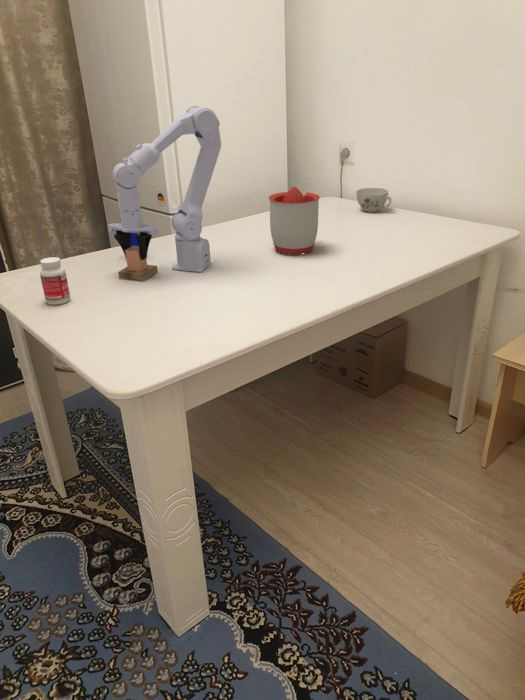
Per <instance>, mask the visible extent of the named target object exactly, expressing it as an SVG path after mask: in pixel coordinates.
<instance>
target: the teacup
mask: <svg viewBox="0 0 525 700" xmlns="http://www.w3.org/2000/svg"><path fill="white" fill-rule="evenodd" d="M355 194H356V200H357V203H358V205H359V206H360V208H361V209H362V210H364V211H363V212H365V211H367V212H366V213H368V212H369V213H370V212H374V213H377V211H378V212H379V210H381V209H383V208H387V207H389V206H391V204H392V198H391V197H392V196H391V197H390V196H389V190H388V189H385V188H381V187H366V188H360V189H358V190H356V192H355ZM387 200H388V201H389V203H388V204H386V202H387ZM385 204H386V205H385Z"/></svg>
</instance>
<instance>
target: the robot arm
mask: <svg viewBox="0 0 525 700" xmlns="http://www.w3.org/2000/svg"><path fill="white" fill-rule="evenodd" d="M220 124H221V122H220V120H219V118H218V117H217V114H216V113H215V111H213V110H212V109H211V108H209V107H200V106H197V105H194V106H190V107H188V108H187V109H186V111H184V112H182V113H180V114H179V115H178V116H177V117H176V118H175V119H174V120H173V122H171V123H170V124H169V125H168V126H167V127H166V128H165V129H164V130H163V131H162V132H161V133H159V135H158V136H156V138H155V139H154V140H152V142H151V143H148V142H144V143H142V144H141V143H139V144H137V145H136V146H135V148H136V150H134V152H132V153H131V154H129V156H128V157H124V158H123V159H122V161H123V162H119V163H118V164H116V165H115V166H114V168H113V170H112V174H111V177H112V179H113V181H114V182H115V184H116V185H115V186H116V187H115V188H116V191H117V192H116V195H117V203H118V211H119V220H120V219H121V221H120V223H119V222H117V223H114V222H113V223H109V224H107V228H108V229H107V230H108V232H110V233H112V232H115V234H114V235H113V238H114V239H115V240H116V241H117V243H118V244H119V247H120V248H121V250H122V252H123V254H124V256H125V258H126V253H125V250H126V249H128V248H130V247H131V242H130V240H131V233H139V234H140V235H138V236H136V237H135V238H136V240H137V243H138V246H139V250H140V257H141V260H144V259H146V260H147V258H148V250H149V246H150V242H151V240H152V237H153V236H156V235H158V234H159V233H158V226H155V225H149V224H144V223H143V218H142V210H141V201H140V193H139V188H138V185H139V183H140V179H141V178H140V177H142V176H144V175H145V174H146V173H147V172H148V171H149V170H150V169H152V168H153V167H154V166H155V165H156V164H157V163H158V162H159V161H160V157H161V156H160V154H161V153H162V152H163V151H165V150H166V149H167V148H168V147H169V146H170V145H172V144H173V143H175V142H176V141H177V140H179V138H181V137H182V136H184V135H194V136H195V138H196V140H197V141H198V143H199V146H200V148H199V152H198V155H197V157H196V161H195V164H194V168H193V172H192V174H191V178H190V181H189V183H188V187H187V190H186V193H185V197H184V200H183V202H181V203H180V205H179V207H178V208H177V212H175V214H174V215H173V216H172V218H171V227H172V229H173V230H174V231H175V236H174V241H175V251H176V260H177V261H176V263H177V264H175V265H174V266H173V267H172V270H177V271H186V272H197V273H202V272H203V271H205V270H206V269H207V268H209V267H210V266H211V265H212V262H211V250H210V249H211V248H210V242H209V240H208V239H207V238H203V237H201V234H202V232H203V231H202V230H203V227H202V220H203V218H204V217H203V216H204V215H203V211H202V208H203V204H204V202H205V198H206V195H207V192H208V189H209V186H210V183H211V179H212V176H213V173H214V171H215V167H216V164H217V161H218V158H219V154H220V151H221V149H222V139H221V132H220Z"/></svg>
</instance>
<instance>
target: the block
mask: <svg viewBox="0 0 525 700" xmlns="http://www.w3.org/2000/svg"><path fill="white" fill-rule="evenodd" d="M125 253H126V257H125V260H126V267H127V268H128V270H129V271H139V272H140V271H142V270H144V269H145V268H147V265H148V262H147V261H148V259H147V258H146V259H144V260H141V257H140V250H139V246H131V247H130V248H128V249H126V250H125Z"/></svg>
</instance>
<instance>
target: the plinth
mask: <svg viewBox="0 0 525 700" xmlns="http://www.w3.org/2000/svg"><path fill="white" fill-rule="evenodd" d="M158 271H159V270H158V265H154V264H147V268H145V269H144V270H142V271H140V272H139V271H129V270H128V268H127V266H126V267H124V268H122V269H120V270H119V271H118V272H117V275H118V279H121V280H127V281H137V282H146V281H147V280H148V279H150V278H151V277H152V276H154V275H156V274H157V273H158Z"/></svg>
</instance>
